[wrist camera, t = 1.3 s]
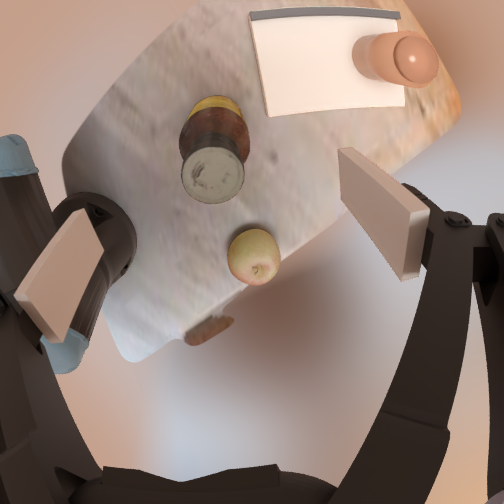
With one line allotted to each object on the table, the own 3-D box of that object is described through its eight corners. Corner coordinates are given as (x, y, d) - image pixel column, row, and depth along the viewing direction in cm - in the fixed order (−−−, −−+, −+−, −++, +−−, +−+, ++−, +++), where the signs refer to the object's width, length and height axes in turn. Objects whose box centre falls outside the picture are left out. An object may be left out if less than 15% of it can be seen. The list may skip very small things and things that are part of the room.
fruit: (219, 231, 43) (218, 264, 37) (267, 214, 42) (275, 246, 36) (238, 269, 48) (240, 305, 41) (282, 255, 47) (291, 290, 40)
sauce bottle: (181, 112, 33) (136, 158, 17) (225, 84, 32) (220, 100, 15) (210, 153, 37) (196, 233, 20) (253, 127, 35) (276, 187, 19)
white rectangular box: (266, 114, 34) (270, 118, 31) (247, 16, 27) (250, 10, 24) (395, 103, 34) (409, 107, 30) (385, 14, 26) (399, 11, 23)
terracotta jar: (354, 80, 30) (395, 88, 22) (348, 34, 26) (389, 27, 18) (396, 80, 30) (444, 91, 21) (392, 36, 26) (440, 34, 18)
